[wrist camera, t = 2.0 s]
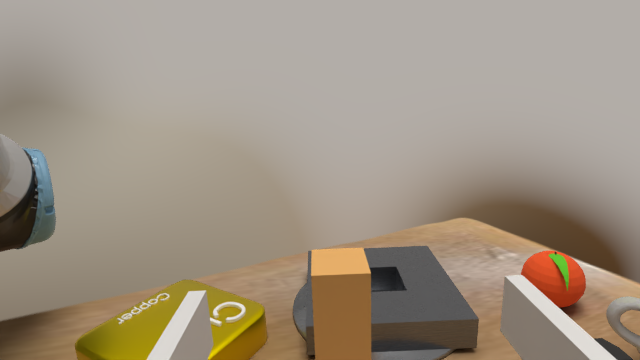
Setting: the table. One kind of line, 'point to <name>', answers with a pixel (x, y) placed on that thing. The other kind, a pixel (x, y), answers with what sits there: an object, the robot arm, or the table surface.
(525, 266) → the clementine
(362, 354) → the orange square prism
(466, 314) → the block with square hole
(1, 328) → the table surface
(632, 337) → the teacup
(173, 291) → the element tile
